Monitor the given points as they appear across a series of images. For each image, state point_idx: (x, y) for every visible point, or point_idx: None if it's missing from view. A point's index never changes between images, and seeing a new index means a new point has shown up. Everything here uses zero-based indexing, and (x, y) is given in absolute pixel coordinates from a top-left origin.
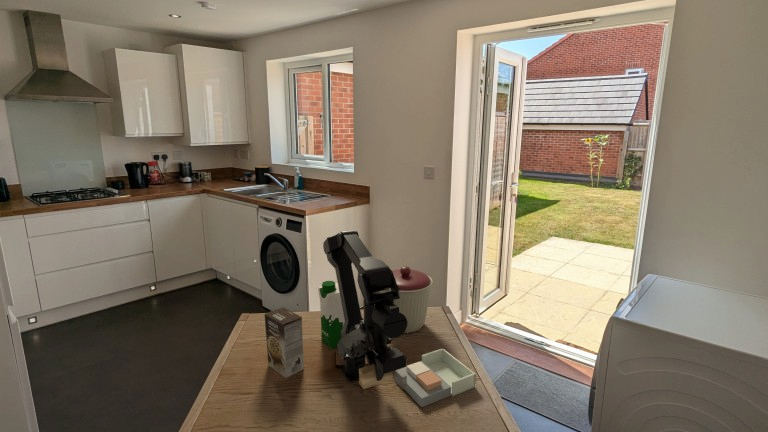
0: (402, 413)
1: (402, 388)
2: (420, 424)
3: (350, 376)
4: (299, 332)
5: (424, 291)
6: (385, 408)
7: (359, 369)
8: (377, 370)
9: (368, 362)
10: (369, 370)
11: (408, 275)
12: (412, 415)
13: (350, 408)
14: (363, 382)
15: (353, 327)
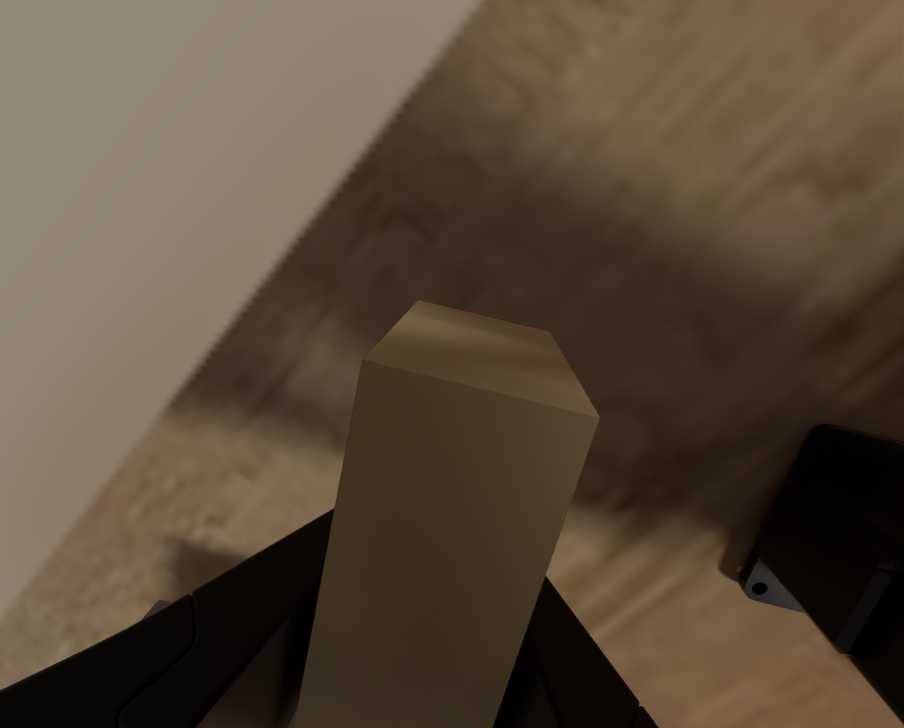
0: (271, 459)
1: (157, 602)
2: (130, 467)
3: (860, 466)
4: None
5: None
6: None
7: (577, 410)
8: (148, 623)
9: (590, 689)
10: (384, 531)
11: None
12: (219, 489)
13: (565, 220)
14: (406, 318)
15: None
